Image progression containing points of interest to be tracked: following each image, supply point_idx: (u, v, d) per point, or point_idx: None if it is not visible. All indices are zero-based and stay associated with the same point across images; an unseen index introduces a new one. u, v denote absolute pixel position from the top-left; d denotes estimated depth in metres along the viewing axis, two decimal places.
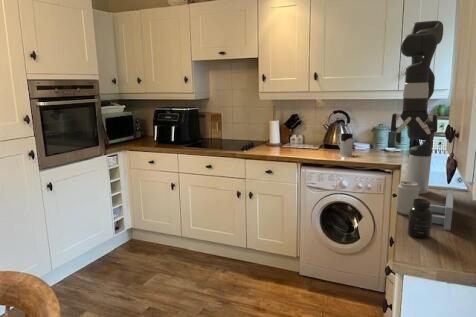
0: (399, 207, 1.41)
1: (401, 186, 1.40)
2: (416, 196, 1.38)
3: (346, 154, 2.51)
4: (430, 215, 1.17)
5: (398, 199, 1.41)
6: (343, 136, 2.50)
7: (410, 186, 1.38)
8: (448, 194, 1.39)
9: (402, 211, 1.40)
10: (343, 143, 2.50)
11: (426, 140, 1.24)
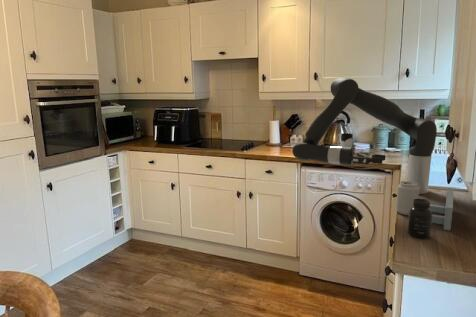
0: (399, 207, 1.41)
1: (401, 186, 1.40)
2: (416, 196, 1.38)
3: None
4: (430, 215, 1.17)
5: (398, 199, 1.41)
6: (343, 136, 2.50)
7: (410, 186, 1.38)
8: (448, 194, 1.39)
9: (402, 211, 1.40)
10: (343, 143, 2.50)
11: (377, 163, 1.42)
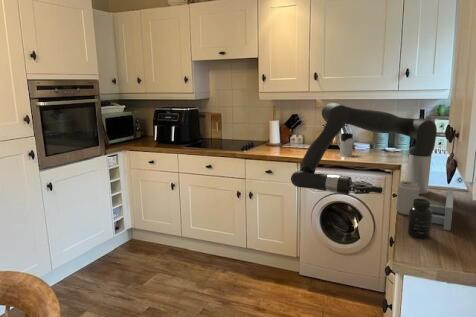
0: (399, 207, 1.41)
1: (401, 186, 1.40)
2: (416, 196, 1.38)
3: (346, 154, 2.51)
4: (430, 215, 1.17)
5: (398, 199, 1.41)
6: (343, 136, 2.50)
7: (410, 186, 1.38)
8: (448, 194, 1.39)
9: (402, 211, 1.40)
10: (343, 143, 2.50)
11: None
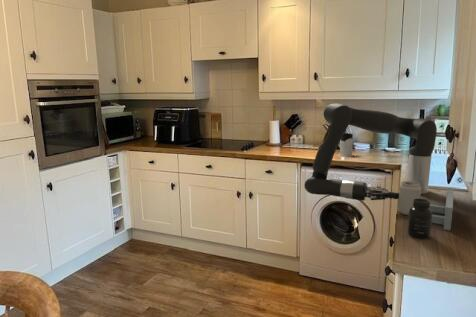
0: (401, 207, 1.41)
1: (403, 186, 1.40)
2: (418, 196, 1.38)
3: (346, 154, 2.51)
4: (430, 215, 1.17)
5: (400, 199, 1.41)
6: (343, 136, 2.50)
7: (412, 186, 1.38)
8: (448, 194, 1.39)
9: (404, 211, 1.40)
10: (343, 143, 2.50)
11: None
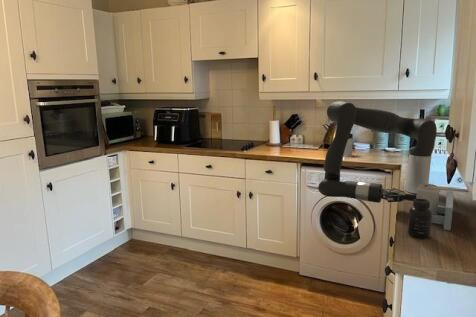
0: None
1: (420, 188, 1.37)
2: (436, 199, 1.35)
3: (346, 154, 2.51)
4: (430, 215, 1.17)
5: None
6: None
7: (429, 189, 1.34)
8: (448, 194, 1.39)
9: None
10: None
11: None
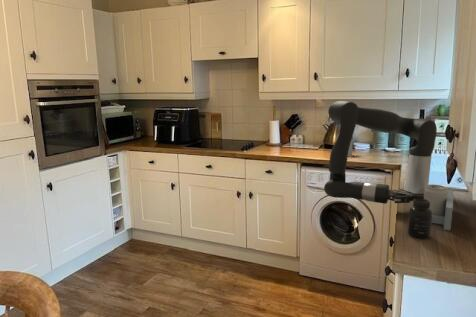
0: None
1: (428, 189, 1.35)
2: (444, 200, 1.33)
3: None
4: (430, 215, 1.17)
5: None
6: None
7: (437, 190, 1.33)
8: (448, 194, 1.39)
9: None
10: None
11: None
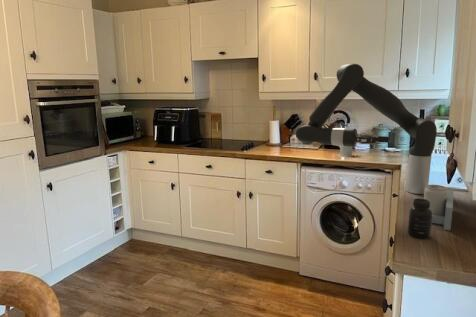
0: None
1: (428, 189, 1.35)
2: (444, 200, 1.33)
3: (346, 154, 2.51)
4: (430, 215, 1.17)
5: None
6: None
7: (437, 190, 1.33)
8: (448, 194, 1.39)
9: None
10: None
11: None
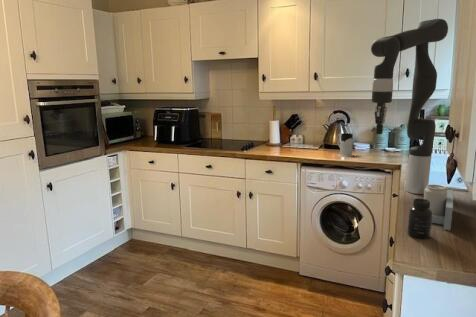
0: None
1: (428, 189, 1.35)
2: (444, 200, 1.33)
3: (346, 154, 2.51)
4: (430, 215, 1.17)
5: None
6: (343, 136, 2.50)
7: (437, 190, 1.33)
8: (448, 194, 1.39)
9: None
10: (343, 143, 2.50)
11: (376, 129, 1.49)
